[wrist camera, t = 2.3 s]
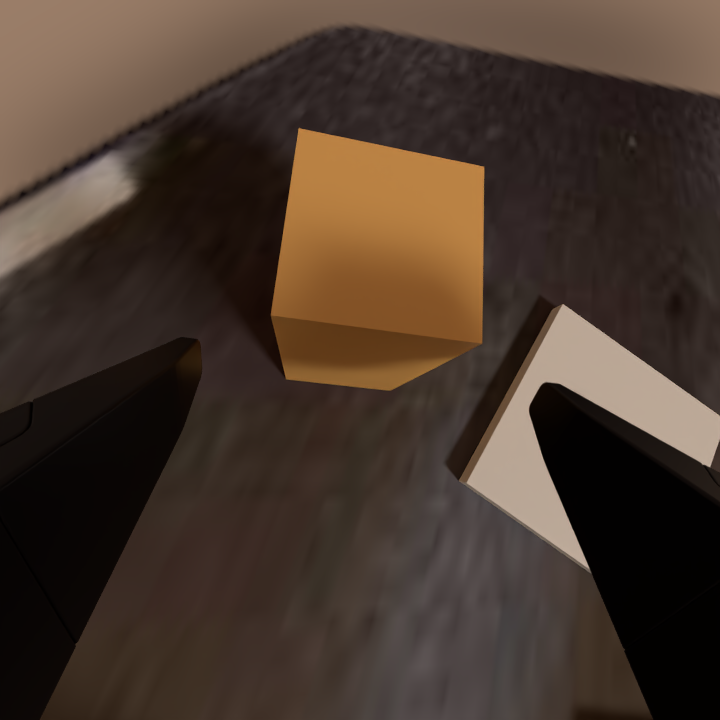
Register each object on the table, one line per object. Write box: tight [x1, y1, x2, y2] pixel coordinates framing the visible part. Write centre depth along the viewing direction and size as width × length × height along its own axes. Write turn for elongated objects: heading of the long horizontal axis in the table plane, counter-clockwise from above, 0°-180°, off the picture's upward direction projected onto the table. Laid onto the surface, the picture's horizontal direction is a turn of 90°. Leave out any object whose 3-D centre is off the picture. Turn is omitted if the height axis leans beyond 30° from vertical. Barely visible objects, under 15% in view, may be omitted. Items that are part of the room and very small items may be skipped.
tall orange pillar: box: [271, 128, 484, 391], centre depth 16 cm, size 6×6×11 cm
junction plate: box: [459, 304, 720, 574], centre depth 21 cm, size 13×13×4 cm
